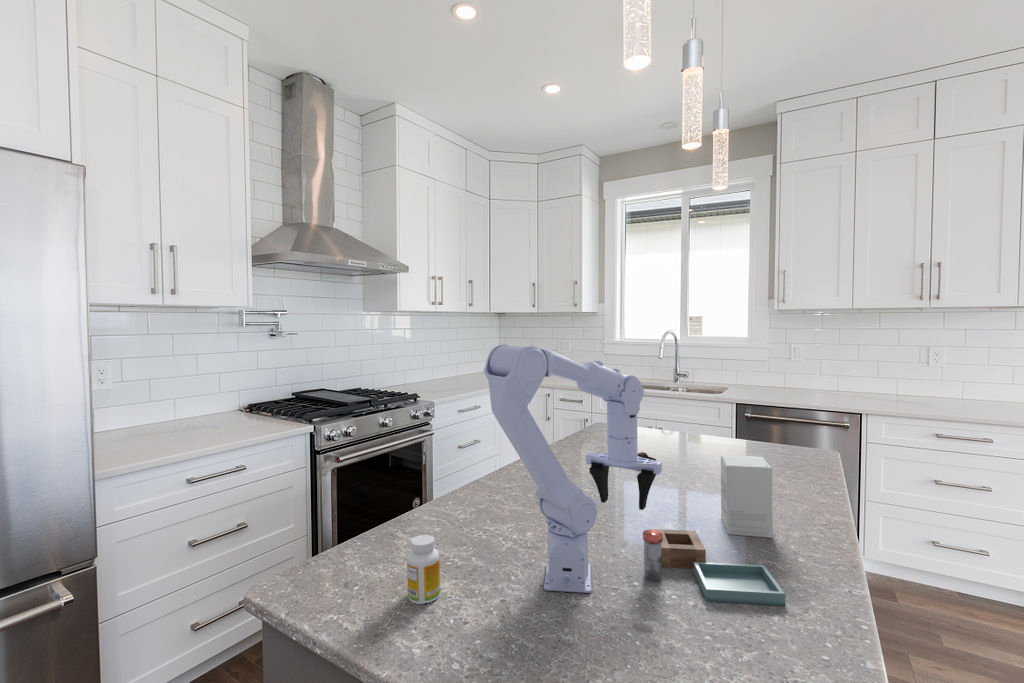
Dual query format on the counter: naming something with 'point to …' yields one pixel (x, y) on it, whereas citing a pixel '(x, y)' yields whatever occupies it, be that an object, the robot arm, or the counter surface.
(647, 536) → the red capped cylinder
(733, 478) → the supplement box
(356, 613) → the counter surface
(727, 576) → the tray
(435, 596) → the supplement bottle
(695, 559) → the bore block
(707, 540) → the counter surface
